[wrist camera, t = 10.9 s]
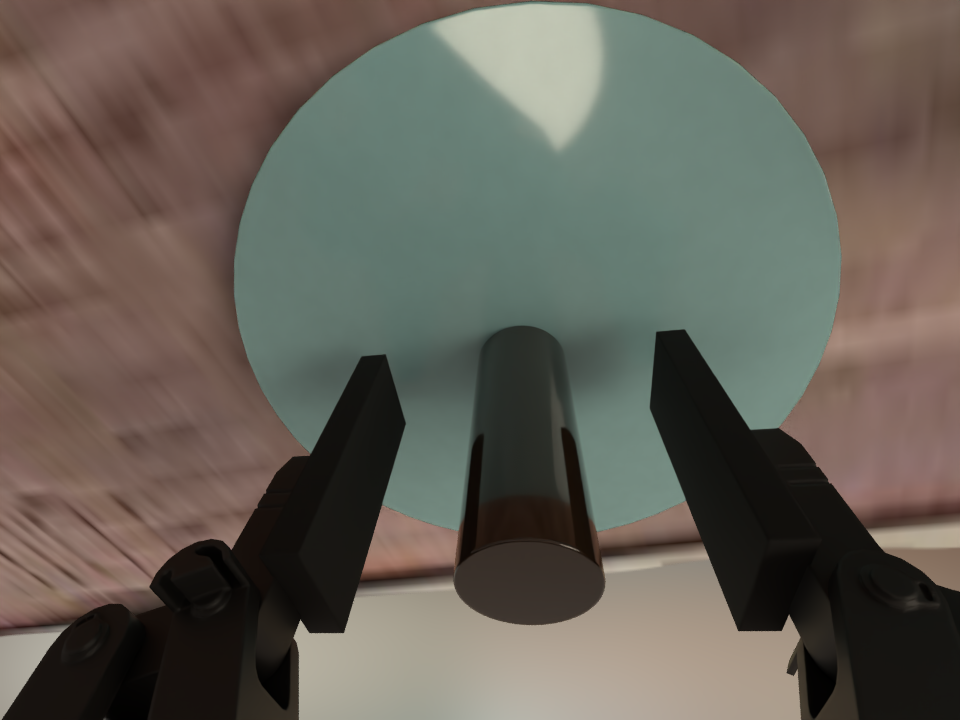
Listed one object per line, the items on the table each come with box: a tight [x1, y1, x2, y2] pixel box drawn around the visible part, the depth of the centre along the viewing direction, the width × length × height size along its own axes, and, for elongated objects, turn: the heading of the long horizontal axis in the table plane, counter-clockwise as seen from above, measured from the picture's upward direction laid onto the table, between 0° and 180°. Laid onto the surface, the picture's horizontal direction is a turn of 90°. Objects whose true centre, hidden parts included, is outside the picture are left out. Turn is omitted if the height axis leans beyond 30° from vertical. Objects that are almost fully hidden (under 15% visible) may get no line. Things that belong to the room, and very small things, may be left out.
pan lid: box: [234, 1, 841, 625], centre depth 12 cm, size 18×18×9 cm
